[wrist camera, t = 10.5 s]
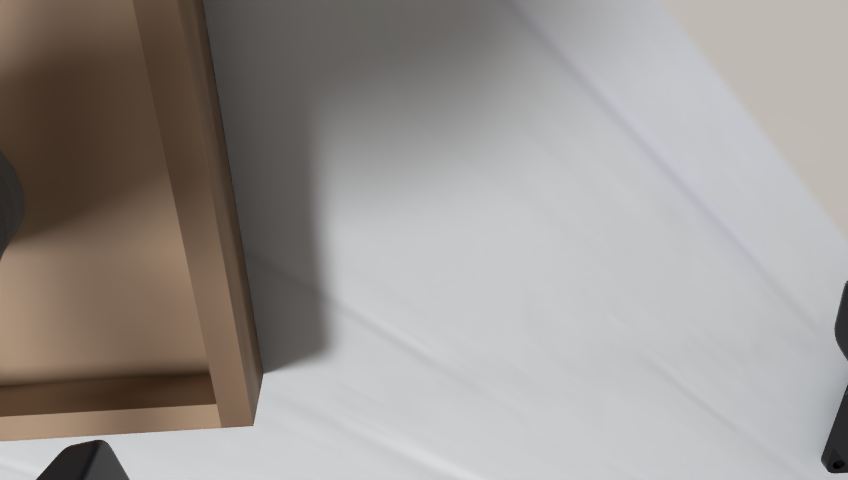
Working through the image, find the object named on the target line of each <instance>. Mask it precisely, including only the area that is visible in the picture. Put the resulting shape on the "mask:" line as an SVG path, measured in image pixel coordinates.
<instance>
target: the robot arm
mask: <svg viewBox="0 0 848 480" xmlns="http://www.w3.org/2000/svg"><path fill="white" fill-rule="evenodd" d="M835 337H836V341H837V343H838V345H839V347H840V349H841V351H842V352H843V354H844V356H845V357H846V359H847V360H848V281H847V282H846V283H845V286H844V289H843V293H842V297H841V302H840V306H839V310H838V314H837V318H836V322H835ZM821 462H822V464H823V465H824V466H825V468H826V469H827V470H828V472H830V473H848V385H847V388H846V391H845V393H844V396H843V399H842V402H841V405H840V407H839V410H838V413H837V416H836V418H835V421H834V424H833V427H832V430H831V432H830V435H829V438H828V441H827V443H826V446H825V449H824V452H823V455H822V457H821ZM36 480H130V479H129V478H128V476H127V474H126V473H125V471H124V469H123V467H122V466H121V464H120V462H119V461H118V459H117V457H116V455H115V454H114V452H113V450H112V448H111V447H110V446H109V444H108V443H107V442H105V441H103V440H94V441H89V442H85V443H80V444H75V445H71V446H69V447H67V448H65V449H64V450H63V451H62V452H61V453H60V454H59V455H58V456H57V457H56V458H55V459H54V460H53V461H52V463H51V464H50V465H49V466H48V467H47V468H46V469H45V470H44V471H43V473H42V474H41V475H40V476H39V477H38V478H37V479H36Z"/></svg>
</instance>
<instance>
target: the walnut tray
mask: <svg viewBox="0 0 848 480" xmlns="http://www.w3.org/2000/svg"><path fill="white" fill-rule="evenodd" d="M0 151H1V152H2V153H3V154H4V156H5V157H6V158H7V160H8V161H9V162H10V163H11V165H12V166H13V167H14V169H15V171H16V174H17V176H18V179H19V181H20V184H21V186H22V188H23V191H24V216H23V218H22V221H21V224H20V226H19V229H18V232H17V233H16V234H15V235H14V236H13V237H12V239H11V240H10V241H9V244H8V246H7V248H6V250H5V251H4V253H3V256H2V259H1V261H0V441H14V440H31V439H47V438H64V437H80V436H96V435H113V434H129V433H146V432H162V431H178V430H195V429H211V428H228V427H244V426H253V424H254V419H255V414H256V409H257V404H258V399H259V394H260V389H261V384H262V379H263V371H262V365H261V359H260V352H259V346H258V340H257V334H256V328H255V322H254V315H253V309H252V303H251V297H250V291H249V285H248V278H247V272H246V266H245V260H244V254H243V247H242V241H241V235H240V229H239V223H238V217H237V210H236V204H235V198H234V192H233V186H232V180H231V173H230V167H229V161H228V155H227V149H226V143H225V136H224V130H223V124H222V118H221V112H220V105H219V99H218V93H217V87H216V81H215V75H214V68H213V62H212V56H211V50H210V44H209V38H208V31H207V25H206V19H205V13H204V7H203V1H202V0H0Z"/></svg>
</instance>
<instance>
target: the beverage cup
mask: <svg viewBox="0 0 848 480" xmlns="http://www.w3.org/2000/svg"><path fill="white" fill-rule="evenodd" d="M23 216H24V191H23V188H22V186H21V184H20V181H19V179H18V176H17V174H16V171H15V169H14V167H13V166H12V165H11V163H10V162H9V161H8V160H7V158H6V157H5V156H4V154H3V153H2V152H1V151H0V261H1V259H2V256H3V253H4V251H5V250H6V248H7V246H8V244H9V241H10V240H11V239H12V237H13V236H14V235H15V234H16V233H17V232H18V229H19V226H20V224H21V221H22V218H23Z"/></svg>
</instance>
